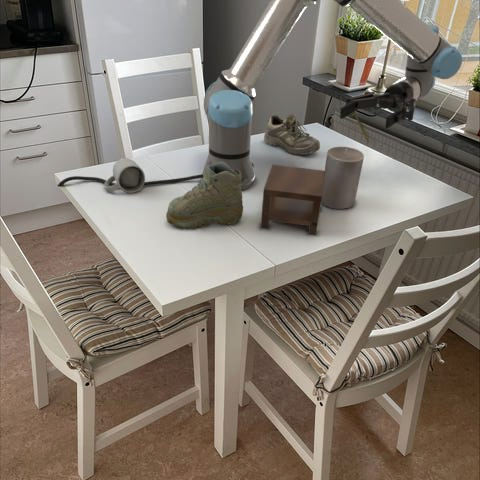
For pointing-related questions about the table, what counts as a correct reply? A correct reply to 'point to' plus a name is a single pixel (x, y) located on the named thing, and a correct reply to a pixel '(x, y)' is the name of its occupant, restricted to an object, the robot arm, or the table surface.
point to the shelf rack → (293, 196)
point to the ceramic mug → (126, 176)
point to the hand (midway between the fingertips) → (363, 118)
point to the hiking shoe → (290, 136)
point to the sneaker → (209, 199)
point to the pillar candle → (341, 177)
